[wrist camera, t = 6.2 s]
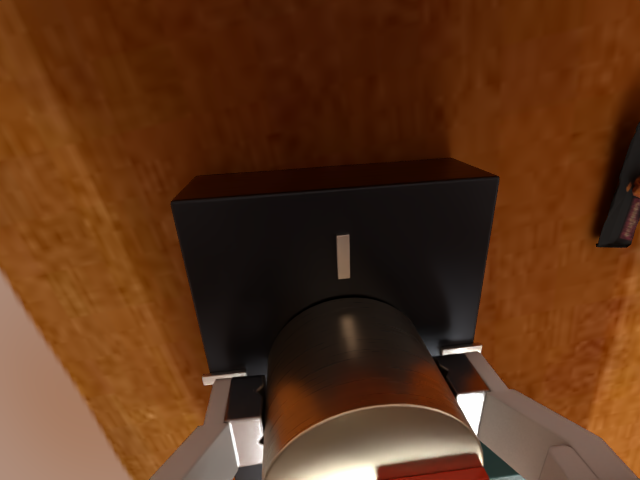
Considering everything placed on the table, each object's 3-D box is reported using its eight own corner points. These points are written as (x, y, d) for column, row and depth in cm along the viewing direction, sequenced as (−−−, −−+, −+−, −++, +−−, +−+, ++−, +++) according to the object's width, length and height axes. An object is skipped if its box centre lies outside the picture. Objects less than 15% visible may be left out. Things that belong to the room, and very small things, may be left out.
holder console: (188, 175, 12) (158, 204, 9) (458, 156, 12) (512, 176, 9) (240, 424, 16) (231, 495, 14) (431, 400, 17) (461, 463, 14)
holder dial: (275, 426, 12) (272, 581, 8) (258, 305, 10) (245, 436, 6) (415, 409, 13) (475, 549, 9) (427, 289, 11) (511, 403, 7)
